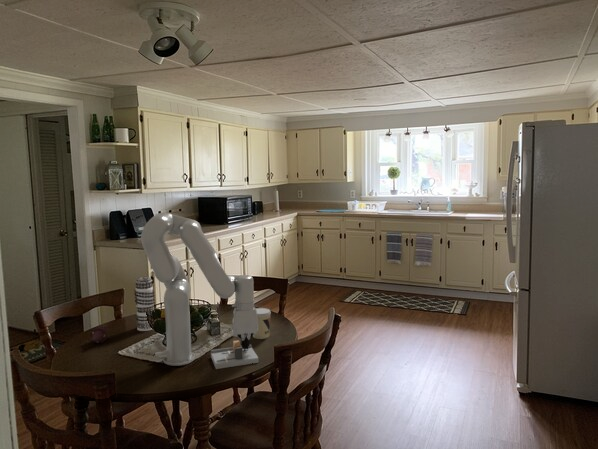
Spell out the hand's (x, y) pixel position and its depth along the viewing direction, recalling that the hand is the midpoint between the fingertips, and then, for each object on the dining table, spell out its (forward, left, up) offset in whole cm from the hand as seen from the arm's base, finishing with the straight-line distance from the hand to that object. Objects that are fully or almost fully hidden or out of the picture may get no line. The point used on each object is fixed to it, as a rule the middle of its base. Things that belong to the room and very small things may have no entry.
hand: (245, 348), depth 191 cm
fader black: (-4, -7, -1) cm, 8 cm away
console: (-5, -3, -3) cm, 7 cm away
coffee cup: (+12, +19, -3) cm, 23 cm away
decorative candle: (-38, +49, -3) cm, 62 cm away
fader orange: (-4, 0, -1) cm, 4 cm away
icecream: (-58, +37, -3) cm, 69 cm away
